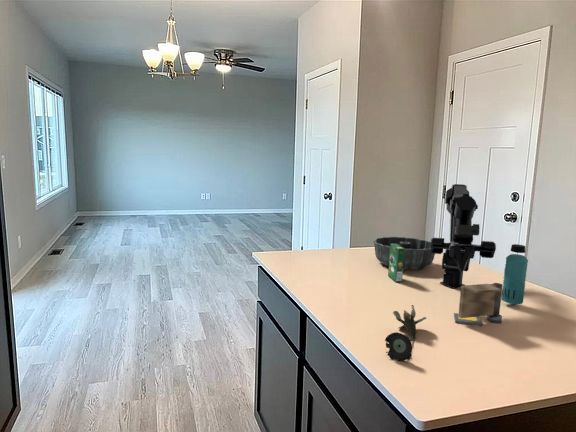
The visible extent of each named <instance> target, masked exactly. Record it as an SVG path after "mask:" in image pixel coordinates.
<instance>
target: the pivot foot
mask: <svg viewBox="0 0 576 432" xmlns="http://www.w3.org/2000/svg"><path fill="white" fill-rule="evenodd" d="M485 319H486V321H487V322H489V323H491V324H501V323H502V322H503V321H502V320H503V315H502V314H500V313H499V315H498V316H496V315H488V316H486V318H485Z"/></svg>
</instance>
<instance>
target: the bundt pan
mask: <svg viewBox="0 0 576 432" xmlns="http://www.w3.org/2000/svg"><path fill="white" fill-rule="evenodd" d="M372 240H373V241H372V243H373V244H374V254H375V258H376V259H377V260H378V262H379V263H381V264H382V265H385V266H386V267H388V268H389V257H390V244H391V243H394V244H398V245H400V246H401V247H403V248H404V249H405V253H404V264H403V271H406V270H407V269H409V270H423V269H424V268H427V267H429V266H431V265H432V263H433V261H434V259H435V256H436V254H433V253H431V252H430V250H431V240H429V241H428V240H426V239H421V238H414V237H406V236H382V237H376V238H375V239H372Z"/></svg>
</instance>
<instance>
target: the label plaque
mask: <svg viewBox="0 0 576 432" xmlns="http://www.w3.org/2000/svg"><path fill="white" fill-rule="evenodd" d="M458 314H459V312H458V313H457V312H456V313H455V312H453V317H454V323H455V324H462V325H469V326H476V327H482V326H483V322H482V319H481V318H480V317H481V316H478V317H468V318H460V317H458Z"/></svg>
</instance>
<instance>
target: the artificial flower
mask: <svg viewBox="0 0 576 432" xmlns="http://www.w3.org/2000/svg"><path fill="white" fill-rule="evenodd" d="M410 307H411V311H410V313H409V312H408V311H407V310H405V309H403V315H402V316H403V319H402V316H401V314H400V312H399V311H398V310H393V312H392V315H393V316H394V317H395V319H396V320H397V322H399V323H401V324H402V325H401V326H398V329H402V328H404V327H405V328H406V330H407V332H408V333H409V334H410V336H411V337H412V338H409V336H408V335H406V334H404V333H401V332H397V331H396V332H391V333H390V334H388V335H387V336H386V337H385V339H384V341H385V348H387V349H389V350H388V351H385V353H386V356H389V358H390V359H391V360H397V362H400V361H402V362H403V361H407V360H410V359H412V356H413V353H412V352H413V351H412V350H413V345H412V342H414V341H416V338H417V327H416V326H417V324H420V323H421V322H423V321H424V320H426V319H427V317H426V316H424V317H422V318H419V319H417V320H415V317H416V315H417V314H416V310H415V306H414V305H413V304H412V305H411V306H410Z"/></svg>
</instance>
